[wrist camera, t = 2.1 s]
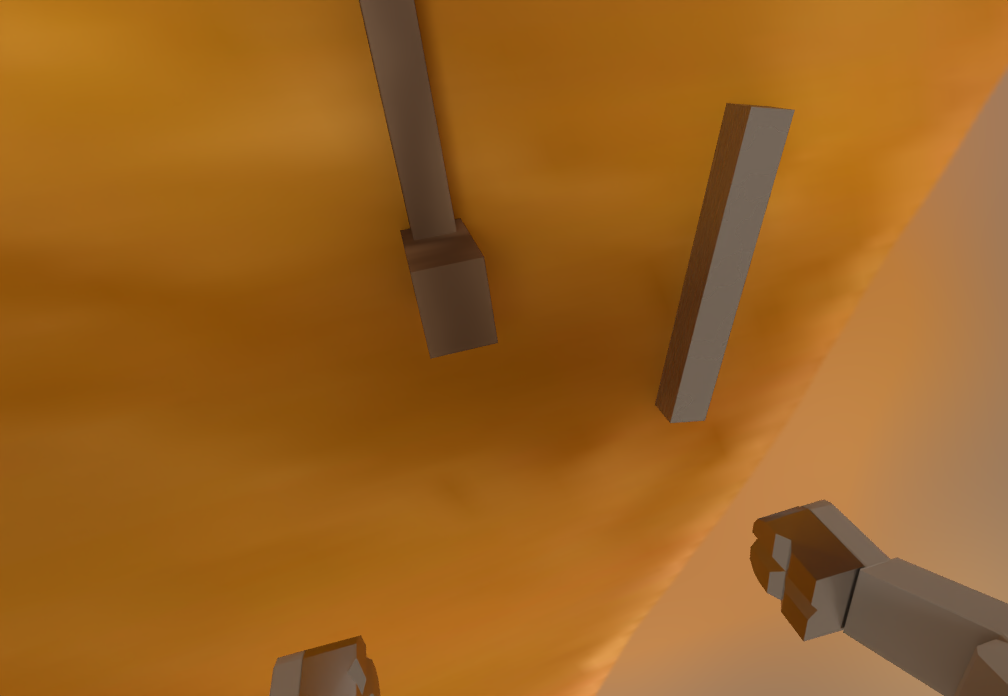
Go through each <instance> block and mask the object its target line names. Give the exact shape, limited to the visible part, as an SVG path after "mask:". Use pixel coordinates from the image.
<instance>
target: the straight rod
mask: <svg viewBox="0 0 1008 696" xmlns="http://www.w3.org/2000/svg"><path fill="white" fill-rule="evenodd" d="M793 114H794V110H791V109H783V108H776V107H769V106H757V105H744V104H731V103H726V108H725V112H724V116H723V120H722V125H721V129H720V133H719V137H718V141H717V146H716V150H715V154H714V158H713V162H712V167H711V171H710V175H709V179H708V184H707V188H706V192H705V196H704V200H703V205H702V209H701V213H700V217H699V221H698V226H697V230H696V234H695V238H694V243H693V247H692V251H691V255H690V259H689V264H688V268H687V272H686V276H685V281H684V285H683V289H682V293H681V297H680V302H679V306H678V310H677V314H676V318H675V323H674V327H673V331H672V335H671V340H670V344H669V348H668V352H667V356H666V361H665V365H664V369H663V373H662V377H661V382H660V386H659V390H658V394H657V399H656V403H655V405H656V406H657V408H658V409H659V410H660V411H661V412H662V414H663V415H664V416H665V417H666V418H667V420H668V421H669V422H670V423H677V422H690V421H704V420H705V418H706V415H707V411H708V408H709V404H710V401H711V397H712V394H713V390H714V387H715V383H716V380H717V377H718V373H719V370H720V366H721V363H722V359H723V356H724V352H725V349H726V345H727V342H728V339H729V335H730V332H731V328H732V325H733V321H734V318H735V314H736V311H737V307H738V304H739V300H740V297H741V294H742V290H743V287H744V283H745V280H746V276H747V273H748V269H749V266H750V262H751V259H752V256H753V252H754V249H755V245H756V242H757V238H758V235H759V231H760V228H761V224H762V221H763V218H764V214H765V211H766V207H767V204H768V200H769V197H770V193H771V190H772V186H773V183H774V179H775V176H776V173H777V169H778V166H779V162H780V159H781V155H782V152H783V148H784V145H785V141H786V138H787V135H788V131H789V128H790V124H791V121H792V117H793Z"/></svg>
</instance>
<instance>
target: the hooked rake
mask: <svg viewBox="0 0 1008 696" xmlns="http://www.w3.org/2000/svg"><path fill="white" fill-rule="evenodd" d="M359 3H360V7H361V12H362V16H363V20H364V25H365V29H366V34H367V38H368V43H369V47H370V51H371V56H372V60H373V65H374V69H375V73H376V78H377V82H378V87H379V91H380V96H381V100H382V104H383V109H384V113H385V118H386V122H387V127H388V131H389V135H390V140H391V144H392V149H393V153H394V158H395V162H396V166H397V171H398V175H399V180H400V184H401V189H402V193H403V197H404V202H405V206H406V211H407V215H408V220H409V224H410V229H405V230H400V231H401V235H402V239H403V244H404V248H405V252H406V256H407V261H408V265H409V269H410V273H411V278H412V282H413V286H414V290H415V295H416V299H417V303H418V307H419V311H420V316H421V320H422V324H423V328H424V333H425V337H426V341H427V345H428V349H429V354H430V358H435V357H439V356H443V355H448V354H452V353H456V352H460V351H465V350H469V349H473V348H477V347H482V346H486V345H490V344H495V343H498V340H497V334H496V328H495V322H494V316H493V310H492V304H491V297H490V291H489V285H488V279H487V273H486V267H485V261H484V256H483V255H482V253H481V251H480V250H479V248H478V247H477V245H476V243H475V242H474V240H473V238H472V237H471V235H470V233H469V232H468V230H467V228H466V227H465V225H464V224H463V222H462V220H461V219H455V220H454V215H453V209H452V204H451V198H450V193H449V188H448V182H447V177H446V171H445V166H444V160H443V155H442V150H441V144H440V139H439V133H438V128H437V122H436V117H435V112H434V106H433V101H432V95H431V90H430V84H429V79H428V74H427V68H426V63H425V57H424V52H423V46H422V41H421V36H420V30H419V25H418V19H417V14H416V8H415V3H414V0H359Z"/></svg>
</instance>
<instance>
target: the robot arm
mask: <svg viewBox="0 0 1008 696" xmlns="http://www.w3.org/2000/svg"><path fill="white" fill-rule="evenodd" d="M753 533H754V535H755V536H756V537H757V538H758V539H757V540H756V541H755V542H754V544H753V545H752V546H751V550H750V561H751V564H752V567H753V571H754V573H755V575H756V577H757V579H758V581H759V582H760V584H761V585H762V587H763V588H764V589H765V591H766V592H767V593H769V594H770V595H772V596H774V597H776V598H778V599H780V600H781V612H782V613H783V615H784V616H785V617H786V619H787V620H788V621H789V623H790V624H791V625H792V627H793V628H794V629H795V631H796V632H797V633H798V635H799V636H800V637H801V639H802V640H803V641H806V640H810V639H813V638H817V637H820V636H824V635H827V634H831V633H834V632H838V631H841V630H844V631H843V633H846V634H847V635H848V636H850V637H851V638H853V639H855V640H856V641H858V642H859V643H861V644H863V645H864V646H866V647H867V648H869V649H870V650H872V651H874V652H875V653H877V654H878V655H880V656H882V657H883V658H885V659H886V660H888V661H890V662H891V663H893V664H894V665H896V666H898V667H899V668H901V669H902V670H904V671H906V672H907V673H909V674H910V675H912V676H913V677H915V678H917V679H918V680H920V681H922V682H923V683H925V684H926V685H928V686H929V687H931V688H933V689H934V690H936V691H937V692H939V693H941V694H942V695H944V696H1008V604H1007V603H1005V602H1002V601H1000V600H998V599H995V598H993V597H990V596H988V595H985V594H983V593H981V592H978V591H976V590H974V589H971V588H969V587H967V586H964V585H962V584H959V583H957V582H955V581H952V580H950V579H947V578H945V577H943V576H940V575H937V574H935V573H933V572H931V571H928V570H926V569H924V568H921V567H919V566H916V565H913V564H911V563H909V562H907V561H904V560H902V559H900V558H894V559H890V558H889V557H887V555H886V554H884V553H883V552H882V551H881V550H880V549H879V548H878V547H877V546H876V545H875V544H874V543H873V542H872V541H870V539H869V538H868V537H866V535H864V534H863V533H862V532H861V531H860V530H859V529H858V528H857V527H856V526H855V525H854V524H853V523H852V522H851V521H850V520H849V519H848V518H847V517H845V516H844V515H843V514H842V513H841V512H840V511H839V510H838V509H837V508H836V507H835V506H834V505H833V504H832V503H830V502H828V501H826V500H821V501H817V502H814V503H811V504H807V505H804V506H801V507H799V506H798V507H795V508H791V509H788V510H785V511H782V512H778V513H775V514H772V515H769V516H766V517H762V518H759V519H757V520H756V521H755V522H754V525H753ZM269 696H380V688H379V681H378V676H377V672H376V669H375V666H374V663H373V661H372V659H369V658H367V657H366V645H365V643H364V641H363V639H362V637H361V635H360V636H356V637H353V638H349V639H345V640H342V641H338V642H334V643H330V644H327V645H323V646H319V647H316V648H312V649H308V650H304V651H300V652H297V653H293V654H290V655H287V656H283V657H280V658H278V659H277V661H276V664H275V666H274V668H273V675H272V682H271V689H270V695H269Z"/></svg>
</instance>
